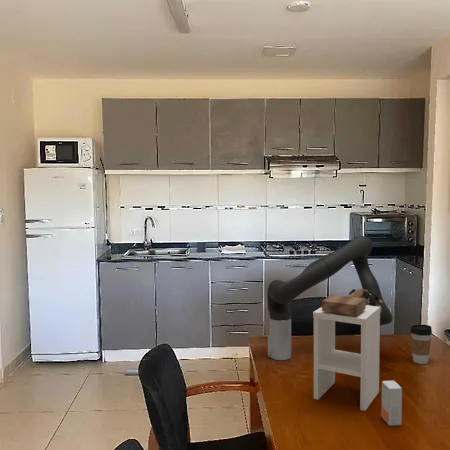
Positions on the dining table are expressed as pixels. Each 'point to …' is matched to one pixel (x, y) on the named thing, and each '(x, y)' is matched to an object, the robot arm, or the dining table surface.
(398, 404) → the skincare box
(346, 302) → the walnut mallet
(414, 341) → the coffee cup
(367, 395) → the shelf stand
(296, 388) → the dining table surface
